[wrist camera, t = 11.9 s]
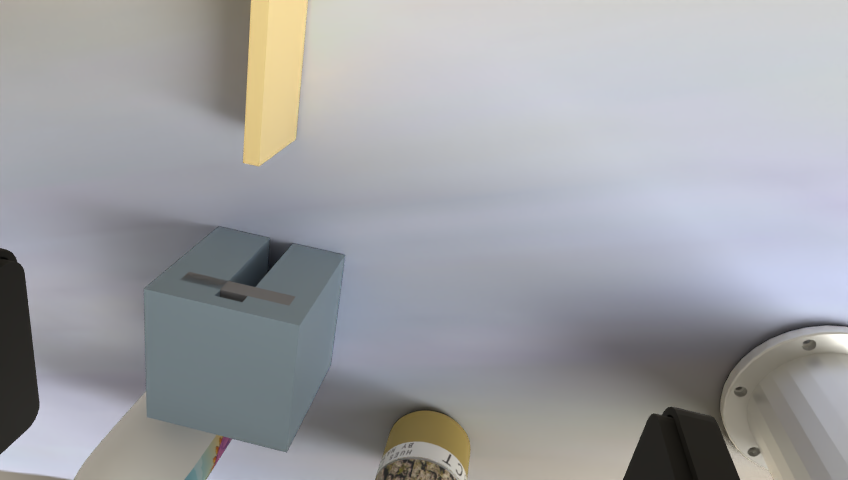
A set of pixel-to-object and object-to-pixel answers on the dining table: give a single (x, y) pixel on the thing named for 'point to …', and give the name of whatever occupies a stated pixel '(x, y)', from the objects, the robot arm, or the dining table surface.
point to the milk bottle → (152, 450)
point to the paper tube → (425, 449)
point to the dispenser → (240, 337)
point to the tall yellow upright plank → (273, 77)
